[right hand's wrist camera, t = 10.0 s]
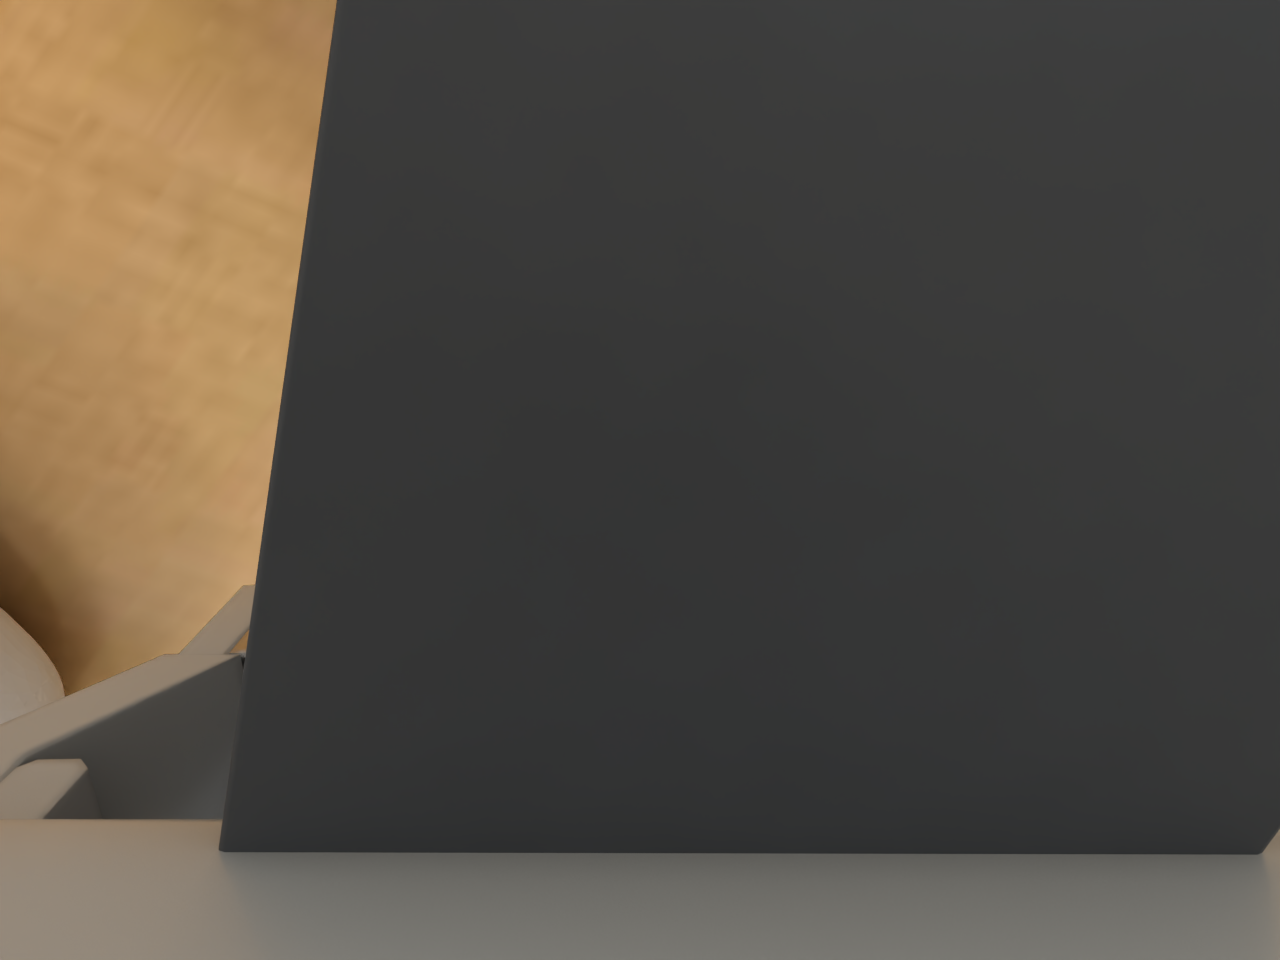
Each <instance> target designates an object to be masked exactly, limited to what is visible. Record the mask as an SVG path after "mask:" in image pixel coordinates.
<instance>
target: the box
mask: <svg viewBox="0 0 1280 960" xmlns="http://www.w3.org/2000/svg"><path fill="white" fill-rule="evenodd" d="M1279 829H1280V0H337V4H336V11H335V18H334V25H333V32H332V40H331V47H330V54H329V61H328V68H327V75H326V83H325V90H324V97H323V104H322V111H321V118H320V125H319V133H318V140H317V147H316V154H315V161H314V168H313V176H312V183H311V190H310V197H309V204H308V211H307V219H306V226H305V233H304V240H303V247H302V254H301V261H300V269H299V276H298V283H297V290H296V297H295V304H294V312H293V319H292V326H291V333H290V340H289V347H288V355H287V362H286V369H285V376H284V383H283V390H282V397H281V405H280V412H279V419H278V426H277V433H276V440H275V448H274V455H273V462H272V469H271V476H270V483H269V491H268V498H267V505H266V512H265V519H264V526H263V533H262V541H261V548H260V555H259V562H258V569H257V576H256V584H255V591H254V598H253V605H252V612H251V619H250V627H249V634H248V641H247V648H246V655H245V662H244V669H243V677H242V684H241V691H240V698H239V705H238V712H237V720H236V727H235V734H234V741H233V748H232V755H231V763H230V770H229V777H228V784H227V791H226V798H225V805H224V813H223V820H222V827H221V834H220V841H219V851H222V852H354V853H770V854H1191V855H1258V854H1260V853H1262V852H1263V851H1264V850H1265V848H1266V847H1267V846H1268V844H1269V843H1270V842H1271V840H1272V839H1273V837H1274V836H1275V835H1276V833H1277V832H1278V831H1279Z"/></svg>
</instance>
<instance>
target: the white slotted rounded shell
mask: <svg viewBox="0 0 1280 960" xmlns="http://www.w3.org/2000/svg"><path fill="white" fill-rule="evenodd" d="M63 697H65V694H64V689H63V684H62V681H61V678H60V676H59V674H58V672H57V670H56V668H55V666H54V664H53V663H52V662H51V660H50V659H49V657H48V656H47V654H46V653H45V652H44V651H43V649H42V648H41V647H40V646H39V645H38V643H37V642H36V641H35V640H34V639H33V638H32V637H31V636H30V635H29V634H28V633H27V632H26V631H25V630H24V629H23V628H22V627H21V626H20V625H19V624H18V623H17V622H16V621H15V620H14V619H13V618H11V617H10V616H9V615H8V614H7V613H6V612H5V611H4V610H3V609H1V608H0V724H3V723H5V722H7V721H10V720H12V719H14V718H17V717H19V716H21V715H24V714H26V713H28V712H31V711H33V710H35V709H38V708H40V707H42V706H45V705H47V704H49V703H52V702H54V701H56V700H59V699H61V698H63Z"/></svg>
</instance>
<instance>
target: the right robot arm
mask: <svg viewBox="0 0 1280 960" xmlns="http://www.w3.org/2000/svg"><path fill="white" fill-rule="evenodd" d="M254 591H255V585H245V586H242V587H241V588H240V589H239V590H238V592H237V593H236V594H235V595H234V596H233V597H232V598H231V599H230V600H229V601H228V602H227V603H226V604H225V605H224V606H223V607H222V609H221V610H220V611H219V612H218V613H217V614H216V615H215V616H214V617H213V618H212V619H211V620H210V621H209V622H208V623H207V624H206V625H205V627H204V628H203V629H202V630H201V631H200V632H199V633H198V634H197V635H196V636H195V637H194V638H193V639H192V640H191V641H190V642H189V643H188V645H187V646H186V647H185V648H184V649H183V650H182V651H181V652H180V653H179V654H164V655H162V656H159V657H157V658H154V659H152V660H150V661H147V662H145V663H143V664H140V665H138V666H136V667H133V668H131V669H129V670H126V671H124V672H122V673H119V674H117V675H115V676H112V677H110V678H108V679H105V680H103V681H101V682H98V683H96V684H94V685H91V686H89V687H87V688H84V689H82V690H80V691H77V692H75V693H73V694H70V695H68V696H66V697H63V698H61V699H59V700H56V701H54V702H52V703H49V704H47V705H45V706H42V707H40V708H38V709H35V710H33V711H31V712H28V713H26V714H24V715H21V716H19V717H17V718H14V719H12V720H10V721H7V722H5V723H3V724H0V960H1280V829H1279V831H1278V832H1277V833H1276V835H1275V836H1274V837H1273V839H1272V840H1271V842H1270V843H1269V844H1268V846H1267V847H1266V848H1265V850H1264V851H1263V852H1262V853H1260V854H1258V855H1191V854H770V853H354V852H222V851H219V841H220V834H221V827H222V820H223V813H224V805H225V798H226V791H227V784H228V777H229V770H230V763H231V755H232V748H233V741H234V734H235V727H236V720H237V712H238V705H239V698H240V691H241V684H242V677H243V669H244V662H245V655H246V648H247V641H248V634H249V627H250V619H251V612H252V605H253V598H254Z"/></svg>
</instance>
